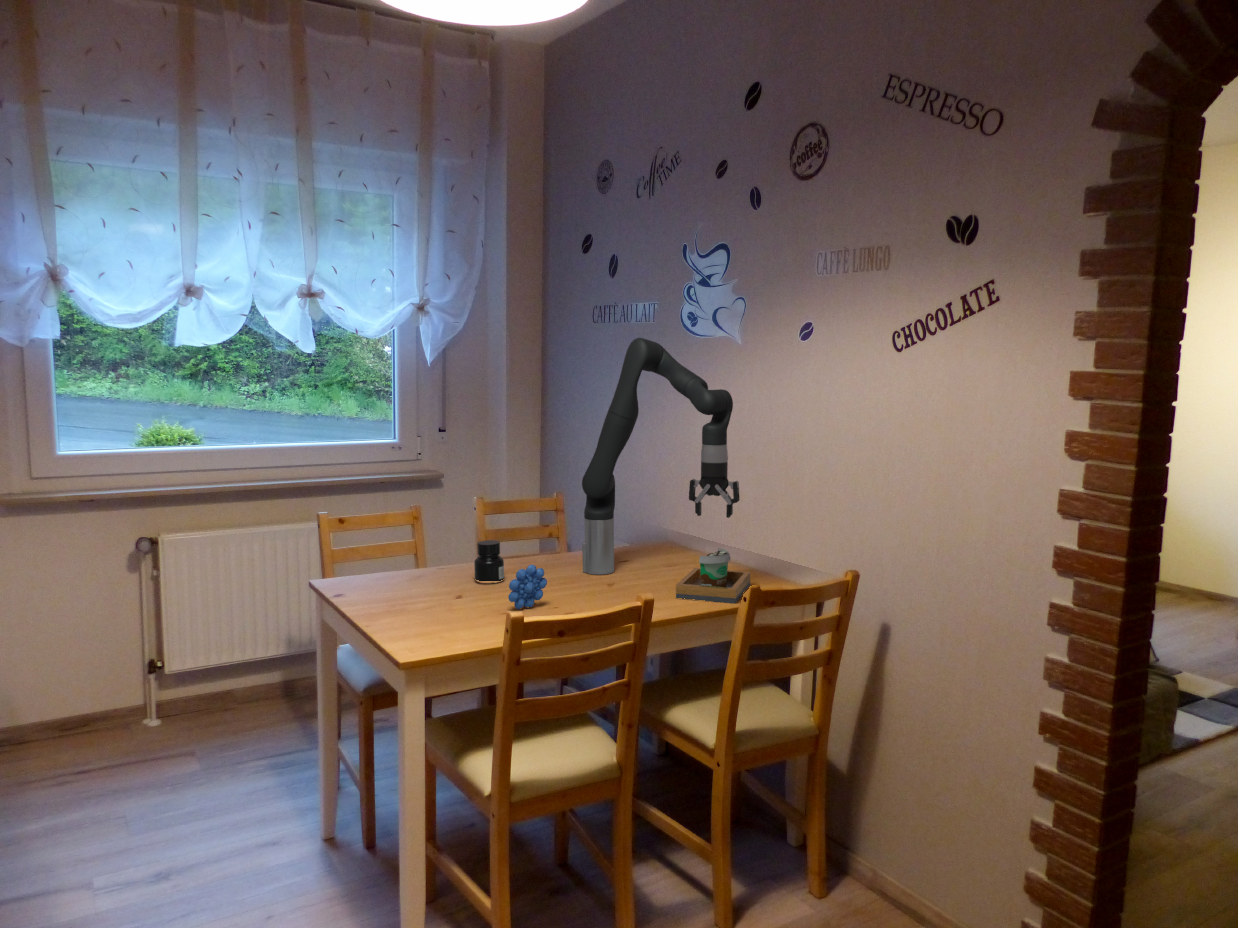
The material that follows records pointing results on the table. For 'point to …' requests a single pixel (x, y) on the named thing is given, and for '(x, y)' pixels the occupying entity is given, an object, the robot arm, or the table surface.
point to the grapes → (527, 587)
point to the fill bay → (713, 587)
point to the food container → (714, 568)
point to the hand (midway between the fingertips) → (713, 516)
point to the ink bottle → (489, 561)
